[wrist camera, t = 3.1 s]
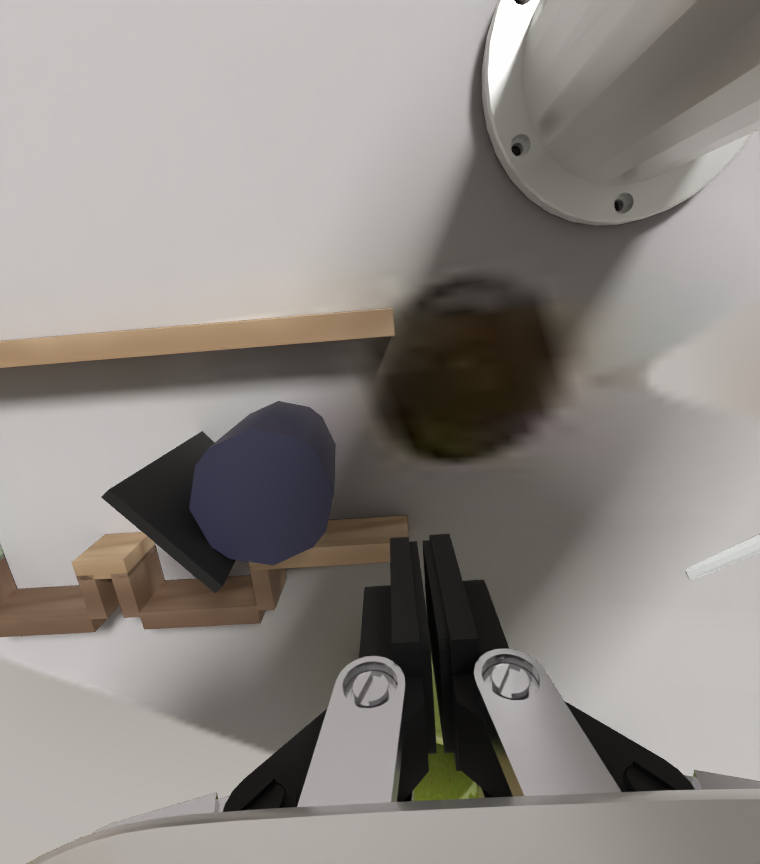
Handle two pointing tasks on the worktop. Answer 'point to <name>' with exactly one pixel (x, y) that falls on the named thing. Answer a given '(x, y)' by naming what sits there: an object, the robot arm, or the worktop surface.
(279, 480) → the black blue bulged block
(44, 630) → the trap channel
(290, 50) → the worktop surface
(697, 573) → the white baseball bat
